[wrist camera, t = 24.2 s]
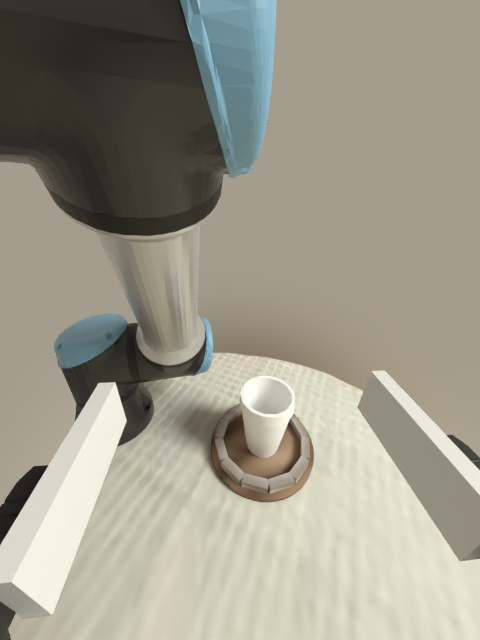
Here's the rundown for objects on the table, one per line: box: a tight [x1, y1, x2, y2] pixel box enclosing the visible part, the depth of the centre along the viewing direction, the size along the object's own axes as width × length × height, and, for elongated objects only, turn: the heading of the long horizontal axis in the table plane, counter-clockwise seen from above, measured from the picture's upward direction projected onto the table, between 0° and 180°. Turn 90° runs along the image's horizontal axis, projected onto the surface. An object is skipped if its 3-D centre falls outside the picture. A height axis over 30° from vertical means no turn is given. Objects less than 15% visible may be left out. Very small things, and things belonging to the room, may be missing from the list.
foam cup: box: [240, 376, 295, 458], centre depth 44 cm, size 10×9×13 cm
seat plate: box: [211, 404, 314, 502], centre depth 47 cm, size 20×20×2 cm
